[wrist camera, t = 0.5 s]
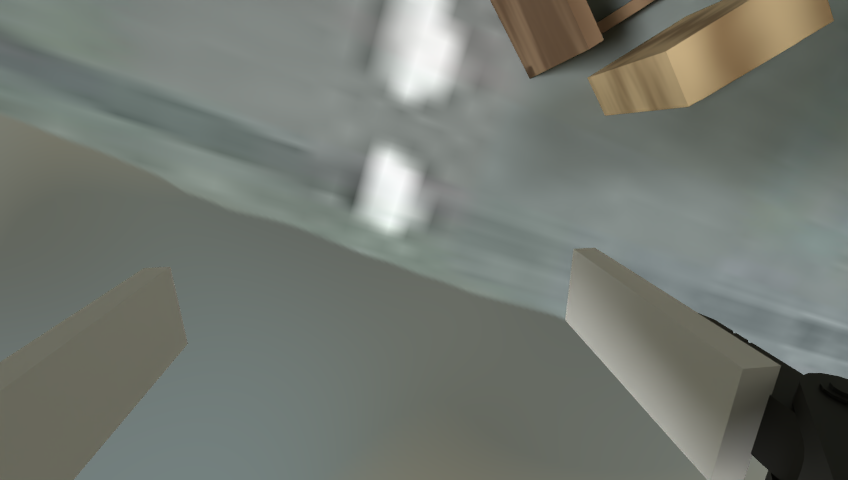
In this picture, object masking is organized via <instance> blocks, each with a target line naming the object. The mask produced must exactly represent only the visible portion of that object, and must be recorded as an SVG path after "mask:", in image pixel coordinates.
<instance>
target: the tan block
mask: <svg viewBox="0 0 848 480" xmlns="http://www.w3.org/2000/svg"><path fill="white" fill-rule="evenodd" d="M833 21H834V19H833V16H832V13H831V9H830V6H829V2H828V0H722V1H720V2H718V3H716V4H713V5H711V6H709V7H706V8H704V9H702V10H700V11H697V12H695V13H693V14H691V15H688V16H686V17H684V18H683V19H681V20H680V21H678V22H676V23H675V24H673V25H672V26H670V27H668V28H667V29H665V30H663V31H662V32H660V33H659V34H657V35H655V36H654V37H652V38H651V39H649V40H647V41H646V42H644V43H643V44H641V45H639V46H638V47H636V48H635V49H633V50H631V51H630V52H628V53H627V54H625V55H623V56H622V57H620V58H619V59H617V60H615V61H614V62H612V63H610V64H609V65H607V66H606V67H604V68H602V69H601V70H599V71H598V72H596V73H594V74H593V75H591V76H590V77H588V80H589V82H590V84H591V86H592V88H593V91H594V93H595V95H596V97H597V99H598V101H599V103H600V106H601V108H602V110H603V112H604V114H605V116H606V115H615V114H625V113H634V112H644V111H653V110H663V109H672V108H682V107H689V106H691V105H692V104H694V103H696V102H698V101H700V100H702V99H704V98H705V97H707V96H709V95H710V94H712V93H714V92H715V91H717V90H719V89H720V88H722V87H724V86H726V85H727V84H729V83H731V82H732V81H734V80H736V79H737V78H739V77H741V76H742V75H744V74H746V73H748V72H749V71H751V70H753V69H754V68H756V67H758V66H759V65H761V64H763V63H764V62H766V61H768V60H769V59H771V58H773V57H775V56H776V55H778V54H780V53H781V52H783V51H785V50H786V49H788V48H790V47H791V46H793V45H795V44H797V43H798V42H800V41H801V40H802V39H804V38H806V37H807V36H809V35H811V34H812V33H814V32H816V31H818V30H819V29H821V28H823V27H824V26H826V25H828V24H829V23H831V22H833Z"/></svg>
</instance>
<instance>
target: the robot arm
mask: <svg viewBox="0 0 848 480" xmlns="http://www.w3.org/2000/svg"><path fill="white" fill-rule="evenodd" d="M565 320H566V321H567V322H568V324H569V325H570V326H571V327H572V328H573V329H574V330H575V331H576V332H577V334H578V335H579V336H580V337H581V338H582V339H583V340H584V342H585V343H586V344H587V345H588V346H589V347H590V348H591V349H592V351H593V352H594V353H595V354H596V355H597V356H598V357H599V358H600V360H601V361H602V362H603V363H604V364H605V365H606V366H607V367H608V368H609V370H610V371H611V372H612V373H613V374H614V375H615V376H616V378H617V379H618V380H619V381H620V382H621V383H622V384H623V385H624V387H625V388H626V389H627V390H628V391H629V392H630V393H631V394H632V396H633V397H634V398H635V399H636V400H637V401H638V402H639V404H640V405H641V406H642V407H643V408H644V409H645V410H646V411H647V412H648V414H649V415H650V416H651V417H652V418H653V419H654V420H655V422H656V423H657V424H658V425H659V426H660V427H661V428H662V429H663V431H664V432H665V433H666V434H667V435H668V436H669V437H670V438H671V439H672V441H673V442H674V443H675V444H676V445H677V446H678V447H679V448H680V450H681V451H682V452H683V453H684V454H685V455H686V456H687V458H688V459H689V460H690V461H691V462H692V463H693V464H694V465H695V467H696V468H697V469H698V470H699V471H700V472H701V473H702V475H704V477H705V478H706V479H707V480H742V479H744V478H745V476H746V472H747V469H748V466H749V463H750V460H751V457H752V455H753V456H754V457H755V458H756V459H757V460H758V461H759V462H760V463H761V464H762V465H764V466H765V467H766V468H767V469H768V473H767V475H766V478H765V480H848V379H845V378H842V377H839V376H834V375H829V374H823V373H808V374H805V375H803V374H801V373H800V372H798V371H796V370H795V369H793V368H792V367H790V366H788V365H787V364H785V363H784V362H782V361H780V360H779V359H777V358H776V357H774V356H772V355H771V354H769V353H767V352H766V351H764V350H763V349H761V348H759V347H758V346H756V345H755V344H753V343H748V340H747V339H745V338H743V337H742V336H740V335H738V334H737V333H733V331H732V330H730V329H729V328H727V327H726V326H724V325H722V324H721V323H719V322H718V321H716V320H714V319H712V318H709V317H707V316H704V315H702V314H699V313H697V312H695V311H694V310H692V309H691V308H689V307H687V306H686V305H684V304H683V303H681V302H680V301H678V300H676V299H675V298H673V297H672V296H670V295H668V294H667V293H665V292H664V291H662V290H661V289H659V288H657V287H656V286H654V285H653V284H651V283H650V282H648V281H646V280H645V279H643V278H642V277H640V276H638V275H637V274H635V273H634V272H632V271H631V270H629V269H627V268H626V267H624V266H623V265H621V264H619V263H618V262H616V261H615V260H613V259H612V258H610V257H608V256H607V255H605V254H604V253H602V252H601V251H599V250H597V249H596V248H583V249H574V251H573V259H572V268H571V276H570V285H569V293H568V302H567V311H566V319H565ZM187 344H188V342H187V339H186V334H185V329H184V325H183V321H182V316H181V312H180V307H179V303H178V299H177V294H176V290H175V285H174V281H173V277H172V273H171V268H170V267H157V268H144V269H142V270H141V271H139V272H137V273H136V274H134V275H133V276H131V277H130V278H128V279H127V280H125V281H124V282H122V283H121V284H119V285H118V286H116V287H115V288H113V289H111V290H110V291H108V292H107V293H105V294H104V295H102V296H101V297H99V298H98V299H96V300H95V301H93V302H92V303H90V304H89V305H87V306H86V307H84V308H82V309H81V310H79V311H78V312H76V313H75V314H74V315H72V316H70V317H69V318H67V319H66V320H64V321H63V322H61V323H59V324H58V325H56V326H55V327H53V328H52V329H50V330H49V331H47V332H46V333H44V334H43V335H41V336H40V337H38V338H37V339H35V340H33V341H32V342H30V343H29V344H27V345H26V346H24V347H23V348H21V349H20V350H18V351H17V352H15V353H14V354H12V355H11V356H9V357H7V358H6V359H4V360H3V361H1V362H0V480H74V478H75V477H76V476H77V475H78V474H79V473H80V471H81V470H82V469H83V468H84V467H85V465H86V464H87V463H88V462H89V461H90V459H91V458H92V457H93V456H94V455H95V453H96V452H97V451H98V450H99V449H100V448H101V446H102V445H103V444H104V443H105V442H106V440H107V439H108V438H109V437H110V436H111V434H112V433H113V432H114V431H115V430H116V428H117V427H118V426H119V425H120V424H121V422H122V421H123V420H124V419H125V418H126V417H127V415H128V414H129V413H130V412H131V411H132V409H133V408H134V407H135V406H136V405H137V404H138V402H139V401H140V400H141V399H142V398H143V396H144V395H145V394H146V393H147V391H148V390H149V389H150V388H151V387H152V386H153V384H154V383H155V382H156V381H157V379H159V377H160V376H161V375H162V374H163V373H164V371H165V370H166V369H167V368H168V367H169V365H170V364H171V363H172V362H173V361H174V359H175V358H176V357H177V356H178V355H179V354H180V352H181V351H182V350H183V349H184V348H185V346H186V345H187Z"/></svg>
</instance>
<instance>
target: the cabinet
mask: <svg viewBox="0 0 848 480" xmlns="http://www.w3.org/2000/svg"><path fill="white" fill-rule="evenodd" d="M490 1H491V3H492V5H493V7H494V8H495V10H496V12H497V14H498V16H499V18H500V20H501V22H502V24H503V26H504V28H505V30H506V32H507V34H508V36H509V38H510V40H511V42H512V44H513V46H514V48H515V50H516V52H517V54H518V56H519V58H520V60H521V62H522V64H523V66H524V68H525V70H526V72H527V74H528V76H529V78H532V77H534V76H536V75H538V74H540V73H542V72H544V71H546V70H548V69H550V68H552V67H554V66H556V65H558V64H560V63H562V62H564V61H566V60H568V59H570V58H573V57H575V56H577V55H579V54H581V53H583V52H585V51H587V50H589V49H590V48H592V47H594V46H595V45H597V44H598V43H600V42H601V41H603V40H604V39H603V37H602V35H601V34H602V33H604V32H606V31H607V30H609V29H610V28H612V27H613V26H615V25H617V24H618V23H620V22H621V21H623V20H624V19H626V18H628V17H629V16H631V15H632V14H634V13H636V12H637V11H639V10H640V9H642V8H643V7H645V6H647V5H648V4H650V3H651V2H653V1H654V0H632V1H630V2H629V3H627V4H626V5H624V6H622V7H621V8H619V9H618V10H616V11H615V12H613V13H612V14H610V15H608V16H607V17H605V18H604V19H602V20H601V21H599V22H597V23H596V21H595V19H594V17H593V14H592V12H591V10H590V8H589V5H588V3H587V1H586V0H490Z"/></svg>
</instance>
